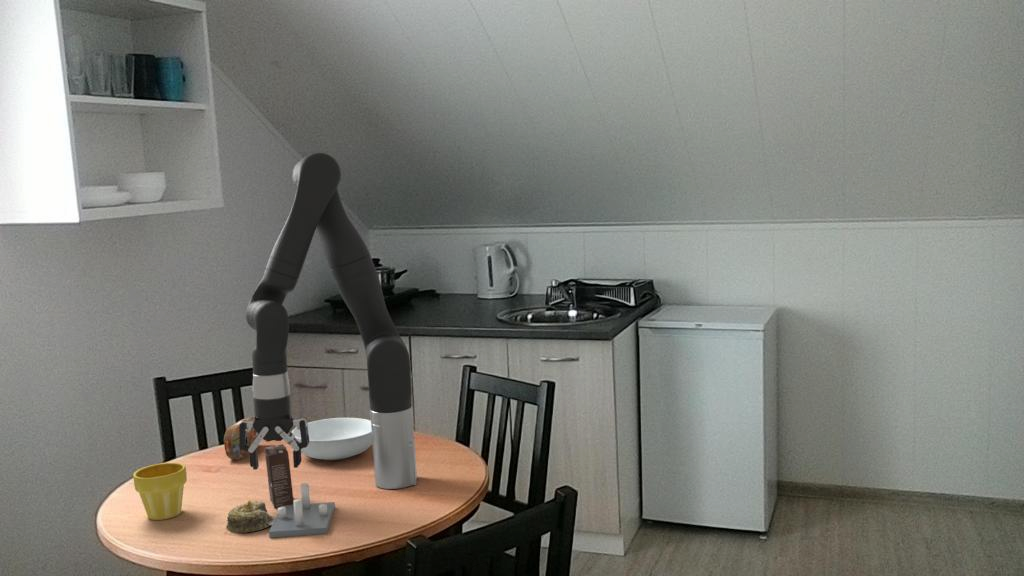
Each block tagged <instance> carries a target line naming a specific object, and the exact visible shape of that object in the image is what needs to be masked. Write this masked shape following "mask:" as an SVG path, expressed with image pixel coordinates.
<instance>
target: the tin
mask: <svg viewBox="0 0 1024 576" xmlns="http://www.w3.org/2000/svg"><path fill="white" fill-rule="evenodd" d="M254 419H255V417H248V418H247V417H245V418H243V419H242V418H241V420H239V421H237V422H236V423H234V424H233V425H231V426H229V427H228V428H227V429H226V430H225V432H224V435H223V445H224V451H225V455H226V456H227V458H229V459H231V460H243V459H244V458H245V457H247V456H249V452H248V451H245V450H240V448H239V425H240V423H241V422H242V421H243V420H247V421H249V422H254ZM258 435H259V434H258V433H257V432H256V431H255V429H254V428H253V427H251V429H250V431H249V432H248V443H249V444H252V443H253V442H254V440H255V439H256V438H257V436H258ZM259 445H260V444H259ZM259 445H258V446H257V448H256V450H258V447H259ZM242 458H243V459H242Z"/></svg>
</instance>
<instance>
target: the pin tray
mask: <svg viewBox="0 0 1024 576" xmlns="http://www.w3.org/2000/svg"><path fill="white" fill-rule="evenodd" d="M309 484H310V483H301V484H300V493H301V494H300V495H301V496H300V497H301V499H300V498H297V499H293V503H294V505H284V506H281V507H279V508H277V514H276V516H275V517H276V518H275V520H274V522H273V524H272V525H271V527H270V529H269V531H268V538H283V537H284V538H285V537H299V536H300V537H301V536H311V535H313V536H314V535H325V534H327V533H328V530H329V527H330V524H331V521H332V519H333V515H334V512H335V509H336V503H335V501H329V502H316V503H315V502H314V503H311V499H310V498H311V497H310V487H309V486H310V485H309Z"/></svg>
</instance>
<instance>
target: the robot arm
mask: <svg viewBox="0 0 1024 576" xmlns="http://www.w3.org/2000/svg"><path fill="white" fill-rule="evenodd" d="M341 179H342V173H341V168H340V165H339V163H338V162H337V160H336V159H335V158H334V157H333V156H331V155H330V154H327V153H324V152H315V153H311V154H308V155H306V156H305V157H302V158H301V159H300V160H299V161H297V162H296V163H295V165H294V167H293V170H292V182H293V185H294V187H295V190H296V191H295V195H294V200H293V202H292V203H293V204H292V206H291V209H290V212H289V214H288V217H287V218H286V221H285V223H284V226H282V228H281V229H282V230H281V231H280V234H279V235H278V236H277V239H276V241H275V243H274V245H273V248H272V250H271V253H270V256H269V258H268V261H267V264H266V266H265V269H264V273H263V276H262V279H261V280H260V282H258V284H257V286H256V288H255V290H254V292H253V294H252V295H251V297H250V299H249V301H248V303H247V306H246V307H247V308H246V312H245V318H246V319H245V320H246V322H247V324H248V326H249V327H250V328H251V329H253V330H255V331H256V332H255V333H256V346H254V348H253V349H252V353H251V364H252V395H253V399H252V401H253V412H254V413H253V414H254V418H255V419H254V422H249V421H247V420H243V421H242V422H241V423H240V425H239V448H240V450H245V451H248V452H249V454H248V457H249V466H250V468H252V470H258V468H260V467H259V450H258V448H257V446H258V445H260V443H261V442H262V440H263V441H265V442H272V441H275V442H282V441H283V440H284V442H285V443H286V444H288V445H289V446H290V447H291V448H292V449H293V450H292V455H293V456H292V459H293V468H294V469H296V468H299V466H300V465H301V463H302V453H301V449H302V448H306V447H307V446H308V444H309V434H308V425H307V423H308V419H307V418H306V417H305V416H304V417H302V418H300V419H293V417H292V408H291V407H292V406H291V389H290V378H289V372H288V362H287V361H288V359H287V347H288V341H289V332H290V331H289V329H290V319H289V314H288V311H287V309H286V307H285V306H284V305H283V304H284V301H285V300H286V297H287V296H288V294H289V293H290V292H292V291H294V289H295V288H296V285H297V284H298V281H299V278H300V275H301V273H302V270H303V267H304V264H305V261H306V258H307V256H308V252H309V250H310V247H311V244H312V240H313V237H314V236H315V233H317V237H318V240H319V242H320V246H321V248H322V251H323V254H324V257H325V261H326V263H327V266H328V269H329V270H330V274H331V276H332V279H333V281H334V283H335V286H336V288H337V290H338V293H339V294H340V295H341V298H342V299H343V302H344V303H345V304H346V306H347V308H348V309H349V311H350V313H351V315H352V316H353V318H354V320H355V322H356V324H357V327H358V330H359V333H360V336H361V340H362V343H363V347H364V351H365V356H366V368H367V369H366V371H367V381H368V383H367V385H368V398H369V399H368V400H369V414H370V421H371V430H372V445H371V446H372V456H373V457H372V458H373V459H372V460H373V470H374V484H375V486H376V487H377V488H380V489H385V490H386V489H387V490H396V489H403V488H407V487H411V486H416V485H417V479H418V472H417V471H418V470H417V458H416V457H417V455H416V453H417V452H416V441H415V439H416V437H415V435H414V434H415V433H414V420H413V405H412V404H413V403H412V401H413V400H412V399H413V398H412V397H413V396H412V394H413V391H412V374H411V360H410V354H409V350H408V347H407V345H406V344H405V342H404V340H403V338H402V337H401V335H400V333H399V332H398V329H397V328H396V326H395V324H394V322H393V319H392V318H391V316H390V313H389V311H388V309H387V305H386V302H385V298H384V293H383V288H382V285H381V281H380V278H379V274H378V271H377V269H376V267H375V263H374V261H373V258H372V256H371V254H370V250H369V248H368V247H367V245H366V243H365V241H364V240H363V238H362V236H361V234H360V233H359V231H358V230H357V228H356V227H355V225H354V224H353V223H352V221H351V220H350V218H349V217H348V215H347V212H346V210H345V208H344V205H343V203H342V199H341V197H340V194H339V191H338V187H339V185H340V182H341ZM293 426H295V428H296V427H297V429H298V430H300V434H301V442H299V441H298V440H297V439H296V437H295V435H294V434H293V433H292V431H291V430H292V428H293ZM251 427H253V428H254V429H255V431H256V432H257V433H258V434H259V435H258V436H257V438H256V439H255V440H254V442H253V443H252V444H249V443H248V432H249V431H250V429H251ZM258 447H259V446H258ZM256 448H257V449H256Z"/></svg>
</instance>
